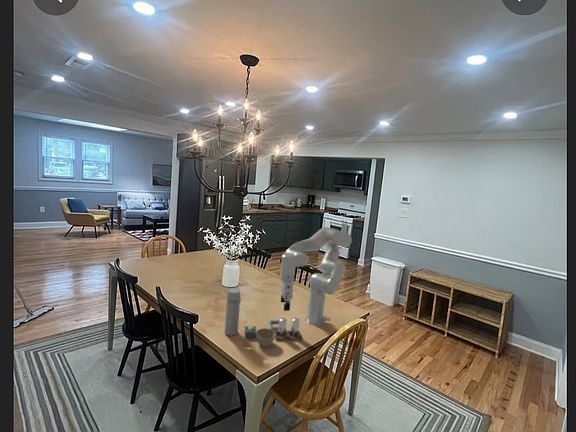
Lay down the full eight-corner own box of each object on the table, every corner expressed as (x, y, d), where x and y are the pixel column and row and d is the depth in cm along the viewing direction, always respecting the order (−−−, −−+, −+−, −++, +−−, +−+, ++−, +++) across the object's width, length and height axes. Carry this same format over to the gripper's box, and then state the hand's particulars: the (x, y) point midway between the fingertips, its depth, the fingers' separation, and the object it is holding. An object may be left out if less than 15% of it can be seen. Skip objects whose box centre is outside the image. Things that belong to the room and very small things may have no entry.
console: (255, 333, 173) (255, 326, 173) (256, 338, 168) (256, 332, 167) (244, 333, 172) (245, 326, 172) (245, 339, 166) (245, 332, 166)
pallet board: (298, 334, 176) (299, 330, 176) (301, 341, 169) (301, 337, 169) (273, 335, 173) (274, 330, 173) (275, 342, 166) (276, 337, 166)
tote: (282, 324, 186) (282, 320, 186) (284, 331, 178) (284, 327, 178) (268, 324, 184) (269, 320, 184) (270, 331, 177) (270, 327, 176)
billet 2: (296, 334, 174) (298, 317, 172) (298, 338, 170) (300, 321, 168) (289, 334, 173) (291, 317, 172) (291, 338, 169) (292, 321, 168)
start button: (253, 331, 171) (253, 326, 171) (253, 334, 169) (253, 329, 168) (247, 331, 171) (248, 326, 170) (247, 334, 168) (248, 329, 167)
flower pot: (269, 353, 156) (270, 340, 155) (251, 347, 159) (252, 334, 158) (277, 343, 165) (278, 331, 164) (260, 338, 168) (261, 326, 167)
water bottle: (221, 331, 172) (224, 289, 168) (234, 328, 176) (237, 286, 173) (229, 339, 164) (232, 295, 161) (242, 335, 169) (245, 293, 165)
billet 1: (284, 334, 173) (285, 317, 171) (285, 338, 169) (287, 321, 167) (277, 334, 172) (278, 317, 170) (278, 338, 168) (279, 321, 166)
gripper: (297, 282, 157) (295, 313, 160) (291, 270, 174) (288, 299, 177) (283, 283, 156) (280, 314, 159) (278, 270, 173) (276, 299, 176)
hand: (285, 306), depth 168 cm, fingers open, 9 cm apart
